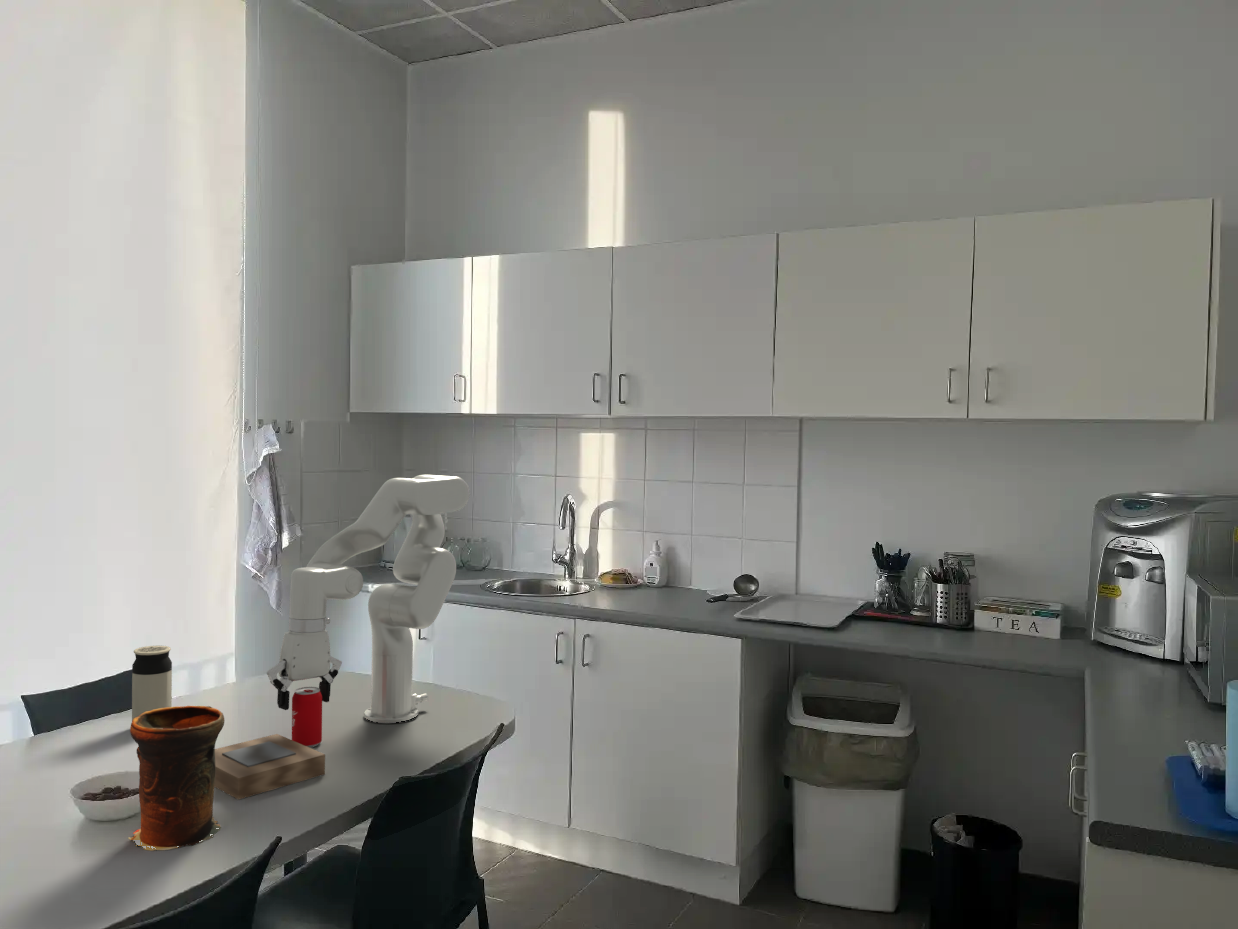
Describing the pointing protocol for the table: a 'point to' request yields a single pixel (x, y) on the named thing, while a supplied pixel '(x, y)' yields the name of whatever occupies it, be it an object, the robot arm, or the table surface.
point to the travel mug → (151, 679)
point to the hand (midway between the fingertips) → (303, 704)
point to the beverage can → (307, 716)
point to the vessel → (176, 775)
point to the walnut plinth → (265, 765)
